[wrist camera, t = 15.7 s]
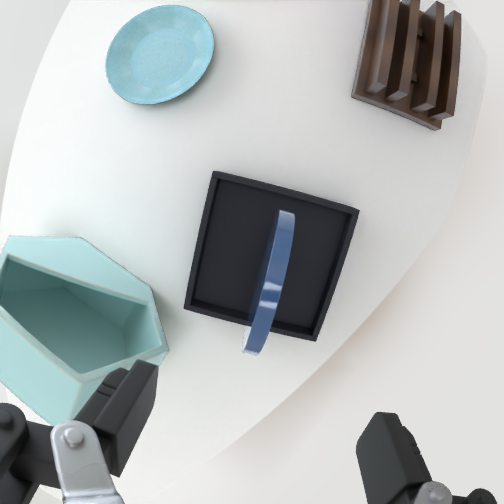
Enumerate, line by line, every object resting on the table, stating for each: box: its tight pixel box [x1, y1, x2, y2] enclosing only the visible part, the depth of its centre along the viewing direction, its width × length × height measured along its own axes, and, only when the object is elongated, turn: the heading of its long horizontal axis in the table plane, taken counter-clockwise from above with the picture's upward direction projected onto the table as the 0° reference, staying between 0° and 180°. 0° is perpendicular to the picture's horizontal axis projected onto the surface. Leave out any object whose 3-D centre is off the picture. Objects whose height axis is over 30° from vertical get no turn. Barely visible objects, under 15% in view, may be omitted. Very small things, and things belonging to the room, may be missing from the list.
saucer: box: [106, 5, 214, 105], centre depth 27 cm, size 12×12×2 cm
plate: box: [242, 209, 295, 356], centre depth 26 cm, size 12×1×12 cm, turn 166°
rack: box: [351, 0, 461, 130], centre depth 24 cm, size 14×10×6 cm
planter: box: [0, 236, 169, 426], centre depth 26 cm, size 17×8×21 cm
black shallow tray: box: [184, 171, 360, 342], centre depth 31 cm, size 14×14×3 cm
